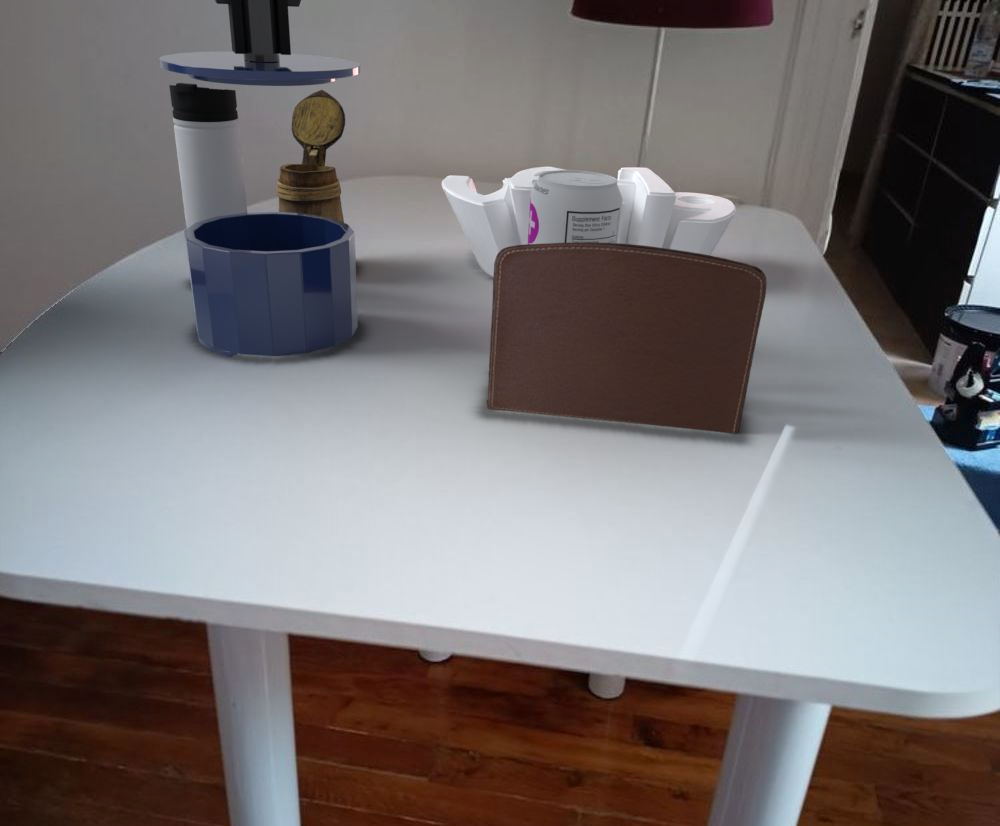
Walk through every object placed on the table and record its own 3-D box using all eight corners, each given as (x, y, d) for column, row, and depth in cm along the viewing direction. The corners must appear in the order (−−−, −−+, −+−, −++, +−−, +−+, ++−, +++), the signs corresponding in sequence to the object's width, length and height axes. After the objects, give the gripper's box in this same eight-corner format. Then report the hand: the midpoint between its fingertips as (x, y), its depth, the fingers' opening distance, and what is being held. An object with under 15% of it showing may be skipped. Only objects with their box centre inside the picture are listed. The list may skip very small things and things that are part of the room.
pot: (163, 341, 83) (148, 236, 78) (264, 298, 95) (255, 205, 90) (296, 373, 78) (288, 263, 73) (385, 324, 90) (383, 226, 85)
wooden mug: (366, 250, 112) (362, 91, 103) (345, 283, 101) (338, 106, 92) (294, 246, 112) (283, 87, 103) (265, 278, 101) (250, 101, 92)
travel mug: (180, 289, 96) (152, 81, 86) (212, 272, 102) (189, 75, 92) (235, 296, 95) (213, 86, 85) (263, 278, 101) (246, 80, 91)
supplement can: (512, 346, 86) (521, 181, 79) (535, 319, 93) (545, 165, 85) (596, 359, 84) (614, 191, 77) (613, 331, 91) (631, 174, 83)
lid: (116, 74, 70) (98, -50, 66) (247, 63, 83) (239, -42, 79) (283, 94, 65) (274, -39, 61) (396, 79, 77) (395, -33, 73)
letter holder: (738, 440, 71) (774, 259, 64) (485, 415, 73) (492, 236, 65) (728, 390, 79) (759, 225, 72) (502, 368, 81) (510, 206, 74)
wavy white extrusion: (431, 279, 103) (432, 182, 98) (444, 242, 117) (445, 155, 112) (741, 297, 103) (759, 200, 97) (716, 257, 117) (731, 171, 112)
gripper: (103, -373, 56) (157, 55, 67) (360, -332, 61) (369, 59, 72) (104, -341, 62) (154, 46, 73) (338, -307, 67) (350, 50, 78)
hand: (261, 52), depth 73 cm, fingers closed on lid, 3 cm apart
